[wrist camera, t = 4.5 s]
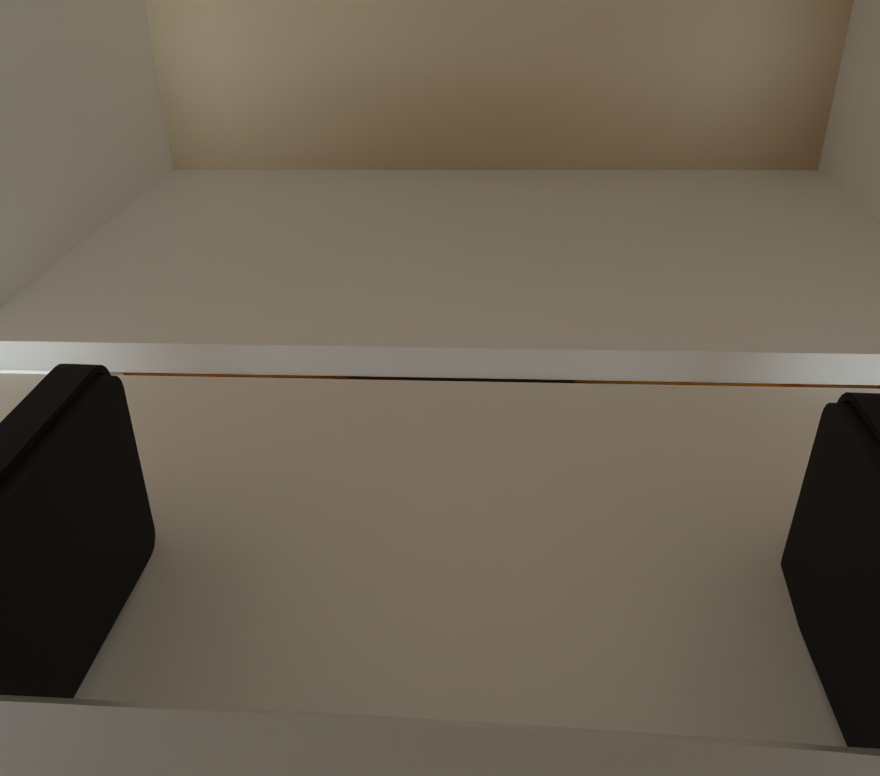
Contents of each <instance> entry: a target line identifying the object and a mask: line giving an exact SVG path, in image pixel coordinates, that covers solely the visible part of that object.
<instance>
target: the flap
mask: <svg viewBox="0 0 880 776" xmlns="http://www.w3.org/2000/svg"><path fill="white" fill-rule="evenodd" d="M46 375H47V374H17V373H0V422H1V421H2V420H3V419H4V418H5V417H6V416H7V415H8V414H9V413H10V412H11V411H12V410H13V409H14V408H15V407H16V406H17V405H18V404H19V403H20V402H21V401H22V400H23V399H24V398H25V397H26V396H27V395H28V394H29V393H30V392H31V391H32V390H33V389H34V388H35V387H36V386H37V384H38V383H39V382H40V381H41V380H42V379H43V378H44V377H45V376H46ZM111 376H117V377H119V378H120V379H121V381H122V383H123V386H124V390H125V395H126V399H127V404H128V408H129V413H130V417H131V422H132V427H133V431H134V436H135V440H136V445H137V449H138V454H139V458H140V463H141V468H142V472H143V477H144V481H145V486H146V490H147V495H148V500H149V504H150V509H151V513H152V518H153V522H154V527H155V545H154V549H153V553H152V555H151V558H150V559H149V561H148V563H147V565H146V567H145V568H144V570H143V572H142V574H141V576H140V578H139V579H138V581H137V583H136V585H135V587H134V589H133V590H132V592H131V594H130V596H129V598H128V600H127V601H126V603H125V605H124V607H123V609H122V611H121V612H120V614H119V616H118V618H117V620H116V622H115V623H114V625H113V627H112V629H111V631H110V632H109V634H108V636H107V638H106V640H105V642H104V643H103V645H102V647H101V649H100V651H99V653H98V654H97V656H96V658H95V660H94V662H93V664H92V665H91V667H90V669H89V671H88V673H87V675H86V676H85V678H84V680H83V682H82V684H81V686H80V687H79V689H78V691H77V693H76V695H75V696H74V698H73V699H92V700H110V701H129V702H147V703H165V704H183V705H201V706H219V707H237V708H255V709H273V710H291V711H308V712H325V713H341V714H358V715H374V716H391V717H408V718H424V719H440V720H457V721H473V722H489V723H505V724H521V725H537V726H553V727H569V728H584V729H599V730H614V731H629V732H644V733H659V734H674V735H689V736H704V737H719V738H734V739H749V740H764V741H779V742H792V743H805V744H817V745H830V746H843V747H847V745H846V742H845V740H844V737H843V735H842V733H841V730H840V728H839V725H838V723H837V720H836V718H835V715H834V713H833V710H832V708H831V705H830V703H829V701H828V698H827V696H826V693H825V691H824V688H823V686H822V683H821V681H820V678H819V676H818V673H817V671H816V668H815V666H814V664H813V661H812V659H811V656H810V654H809V651H808V649H807V646H806V644H805V641H804V639H803V636H802V634H801V631H800V629H799V626H798V623H797V619H796V616H795V612H794V609H793V606H792V602H791V599H790V595H789V592H788V588H787V585H786V582H785V578H784V575H783V571H782V568H781V560H782V555H783V552H784V548H785V545H786V541H787V537H788V534H789V530H790V526H791V523H792V519H793V516H794V512H795V508H796V505H797V501H798V497H799V494H800V490H801V487H802V483H803V479H804V476H805V472H806V468H807V465H808V461H809V458H810V454H811V450H812V447H813V443H814V439H815V436H816V432H817V429H818V425H819V421H820V418H821V414H822V411H823V409H824V407H825V406H826V404H828V403H837V401H838V399H839V398H840V397H841V395H842V394H844V393H846V392H854V393H880V389H870V388H813V387H756V386H699V385H642V384H586V383H529V382H472V381H415V380H358V379H301V378H245V377H188V376H131V375H111Z"/></svg>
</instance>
